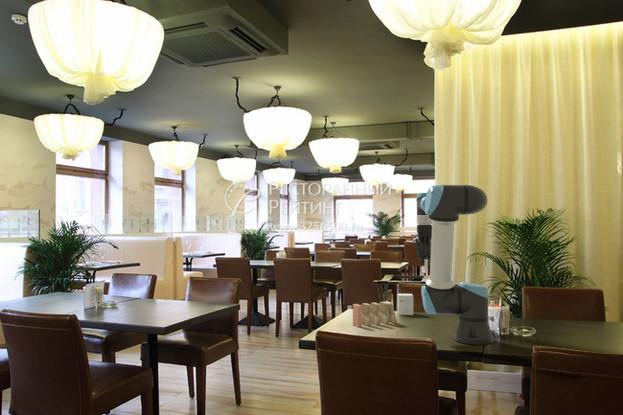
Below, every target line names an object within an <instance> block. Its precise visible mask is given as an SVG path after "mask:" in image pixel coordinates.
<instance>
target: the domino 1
mask: <svg viewBox="0 0 623 415" xmlns="http://www.w3.org/2000/svg"><path fill="white" fill-rule="evenodd" d="M352 326H354V327H356V328H362V327H363V325H362V304H359V303H353V304H352Z"/></svg>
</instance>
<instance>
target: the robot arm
mask: <svg viewBox="0 0 623 415" xmlns="http://www.w3.org/2000/svg"><path fill="white" fill-rule="evenodd" d="M415 200H416V223H417V225H416V232H417V234H416V237H415V238H412V242H413V243H414V249H415V253H416V257H417V258H418V259H420V266H421V273H424V274H428V273H429V278H427V279H426V280H425V285H422V286H421V289H420V291H421V292H420V293H421V298H422V305H423V309H424V311H425V313H426V314H428V315H436V316H438V315H441V316H442V315H447V316H448V315H451V316H453V315H458V321H457V326H456V328H455V332H454V338H453V339H454V341H455V342H458V343H461V344H465V345H466V344H468V345H479V346H481V345H490V344H493V342H494V335H493V333H492V330H491V327H490V324H489V289H488V288H487V287H486V286H485V285H482V284H477V283H471V282H465V281H464V282H462V281H461V282H459V281H458V284H457V285H456V283H455V281H454V280H453V279H452V275H453V274H452V273H453V255H454V254H453V253H454V237H455V224H456V223H457V222H458V221H459V219H460V218H459V217H460V215H464V216H465V215H466V216H467V215H474V214H478V213H480V212H482V211H483V210H484V209H486V206H487V205H488V197H487V194H486V192H485V191H484V190H483V189H481V188H479V187H478V186H475V185H469V184H465V185H464V184H437V185H431V186H429V188H428V190H427V192H418V193H417V194H416V199H415ZM429 265H430V267H429ZM429 268H430V269H429Z"/></svg>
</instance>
